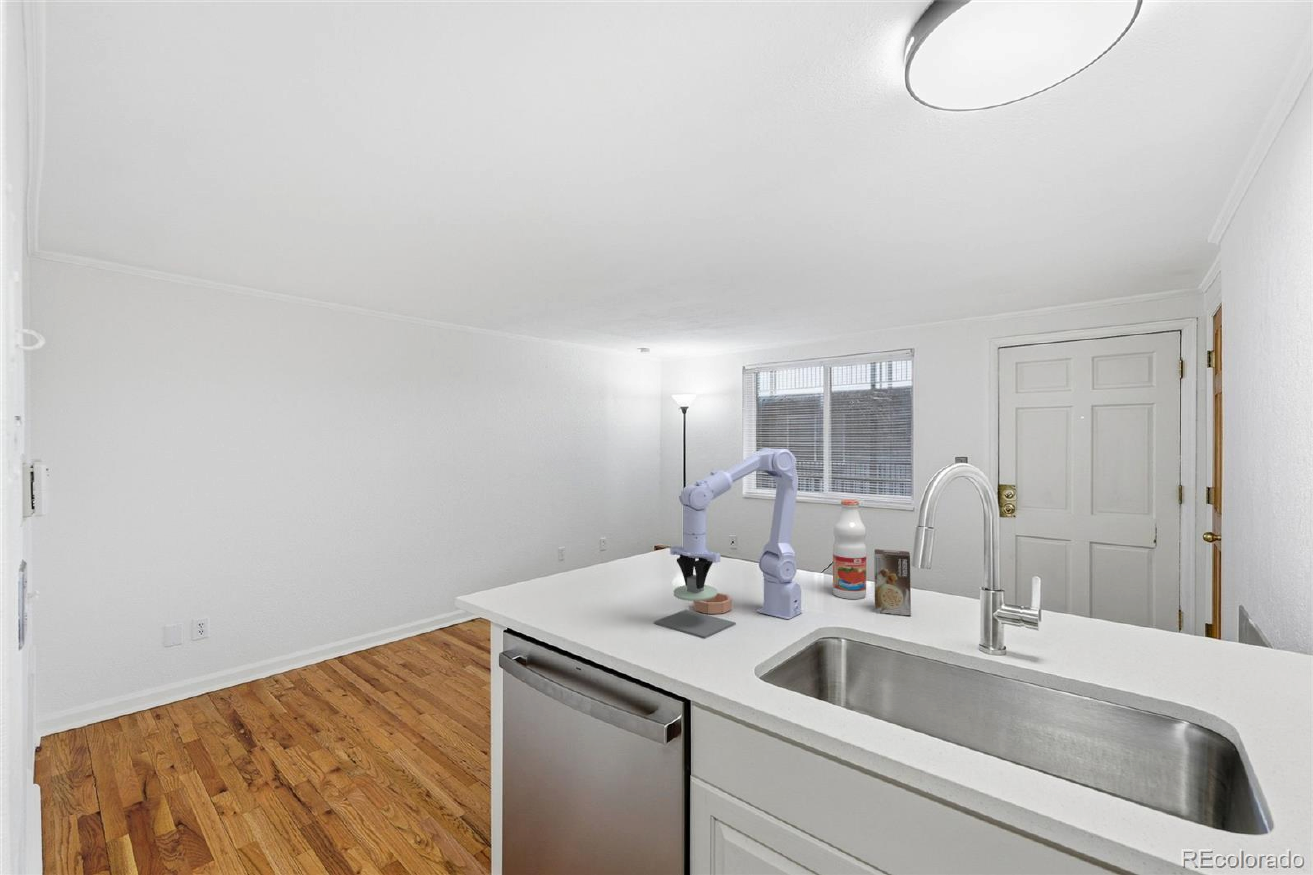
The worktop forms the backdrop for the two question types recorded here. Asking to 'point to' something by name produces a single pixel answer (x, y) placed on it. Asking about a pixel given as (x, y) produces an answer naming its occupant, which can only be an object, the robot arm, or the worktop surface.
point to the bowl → (714, 604)
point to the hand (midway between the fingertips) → (694, 586)
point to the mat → (695, 623)
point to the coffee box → (892, 582)
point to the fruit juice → (849, 553)
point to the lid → (694, 591)
